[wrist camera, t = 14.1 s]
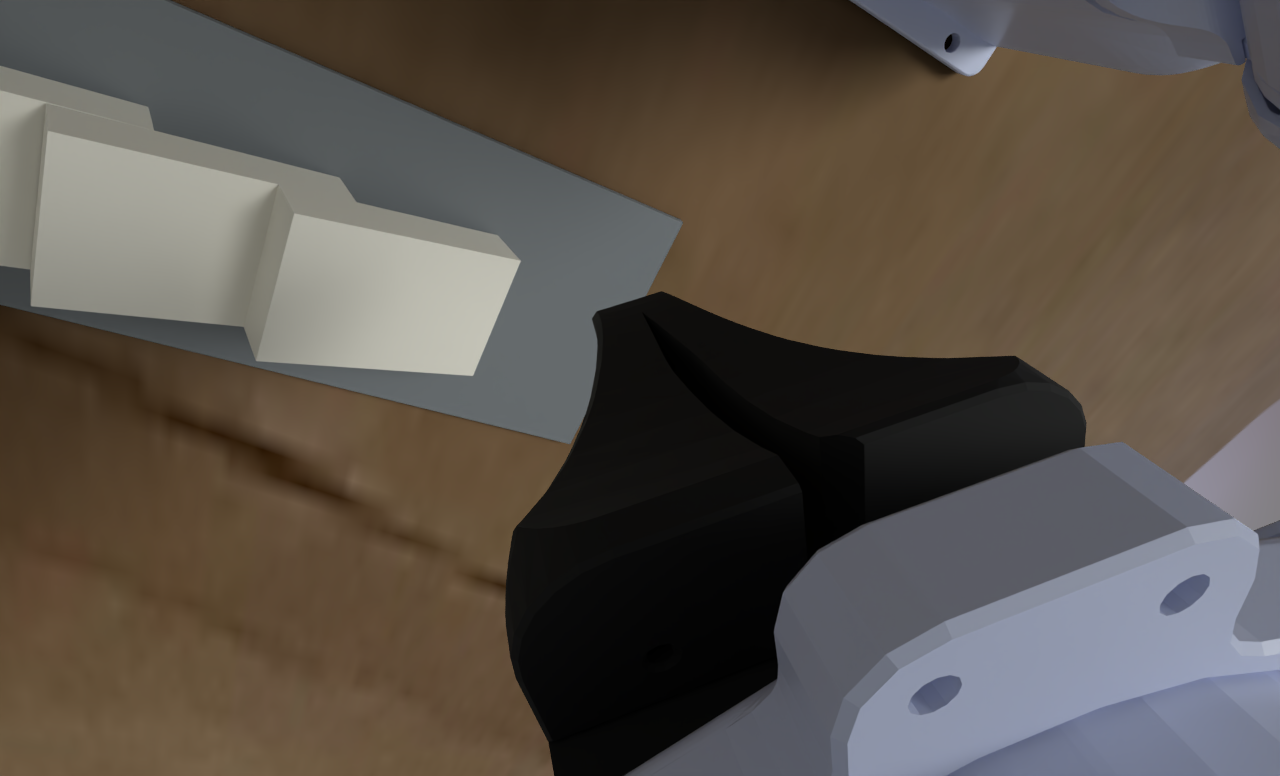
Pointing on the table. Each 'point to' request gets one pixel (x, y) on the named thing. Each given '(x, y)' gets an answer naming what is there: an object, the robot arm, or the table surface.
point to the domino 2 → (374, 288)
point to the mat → (363, 197)
